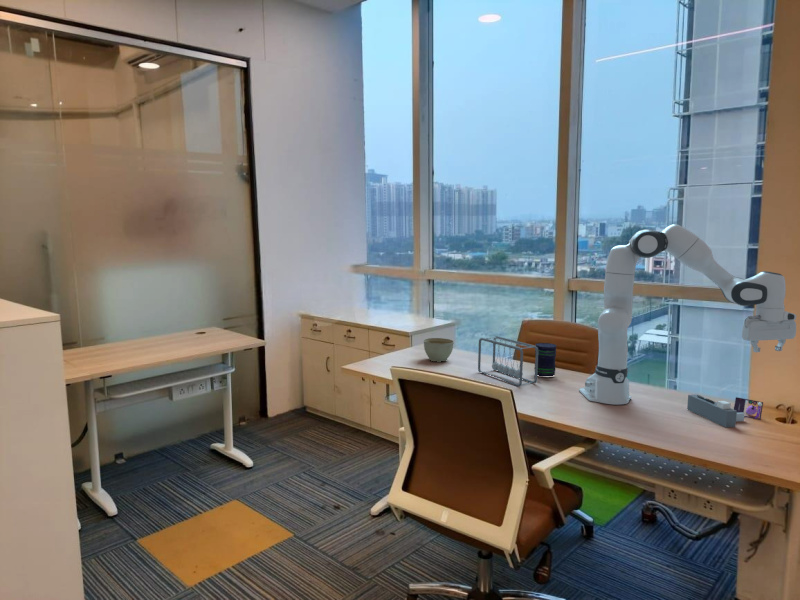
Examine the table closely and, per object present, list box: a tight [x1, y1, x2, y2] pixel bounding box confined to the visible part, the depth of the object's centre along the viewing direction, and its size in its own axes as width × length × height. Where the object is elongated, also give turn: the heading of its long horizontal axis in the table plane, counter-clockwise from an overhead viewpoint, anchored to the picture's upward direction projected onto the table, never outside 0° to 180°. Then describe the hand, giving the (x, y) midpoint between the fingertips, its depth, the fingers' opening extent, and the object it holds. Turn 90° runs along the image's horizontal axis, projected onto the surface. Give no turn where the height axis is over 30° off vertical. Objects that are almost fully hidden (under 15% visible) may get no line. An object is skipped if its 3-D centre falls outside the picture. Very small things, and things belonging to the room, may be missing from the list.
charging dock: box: [686, 394, 745, 428], centre depth 206 cm, size 20×12×8 cm, turn 10°
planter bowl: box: [423, 337, 455, 363], centre depth 292 cm, size 16×16×11 cm
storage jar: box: [533, 342, 557, 376], centre depth 264 cm, size 10×10×15 cm
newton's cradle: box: [477, 335, 538, 387], centre depth 258 cm, size 30×10×18 cm, turn 31°
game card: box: [733, 396, 764, 421], centre depth 209 cm, size 7×5×9 cm
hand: (767, 351), depth 206 cm, fingers open, 8 cm apart
